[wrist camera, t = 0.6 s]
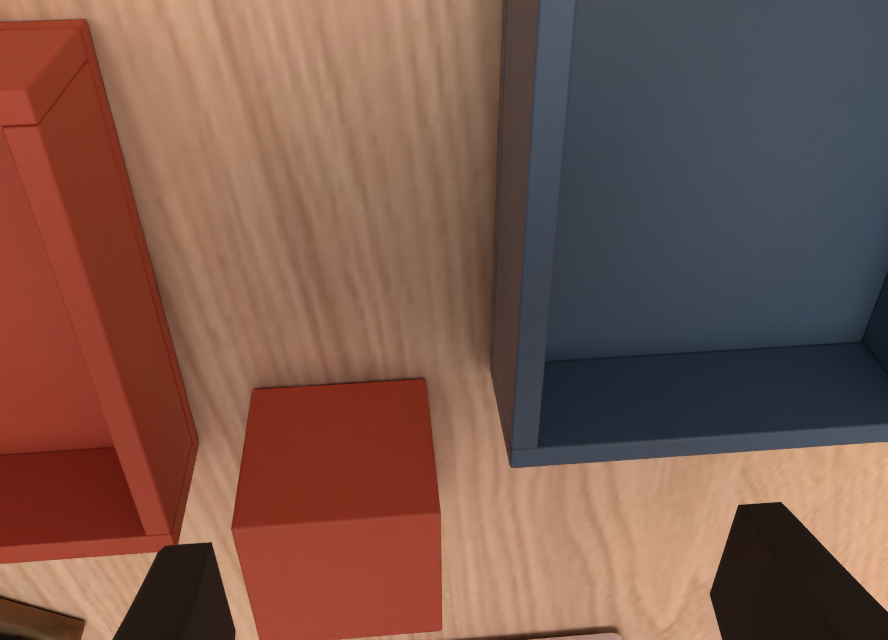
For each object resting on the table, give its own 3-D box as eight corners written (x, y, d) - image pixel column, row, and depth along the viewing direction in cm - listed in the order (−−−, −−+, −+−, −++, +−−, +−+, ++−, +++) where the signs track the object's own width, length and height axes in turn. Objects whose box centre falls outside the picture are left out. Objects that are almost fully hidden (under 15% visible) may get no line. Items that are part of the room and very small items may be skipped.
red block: (429, 493, 24) (442, 632, 20) (274, 504, 24) (260, 647, 20) (426, 377, 21) (440, 514, 18) (251, 388, 21) (230, 529, 17)
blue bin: (865, 345, 22) (940, 439, 19) (489, 369, 21) (509, 469, 18) (1050, -124, 15) (1207, -86, 12) (506, -111, 14) (542, -68, 12)
